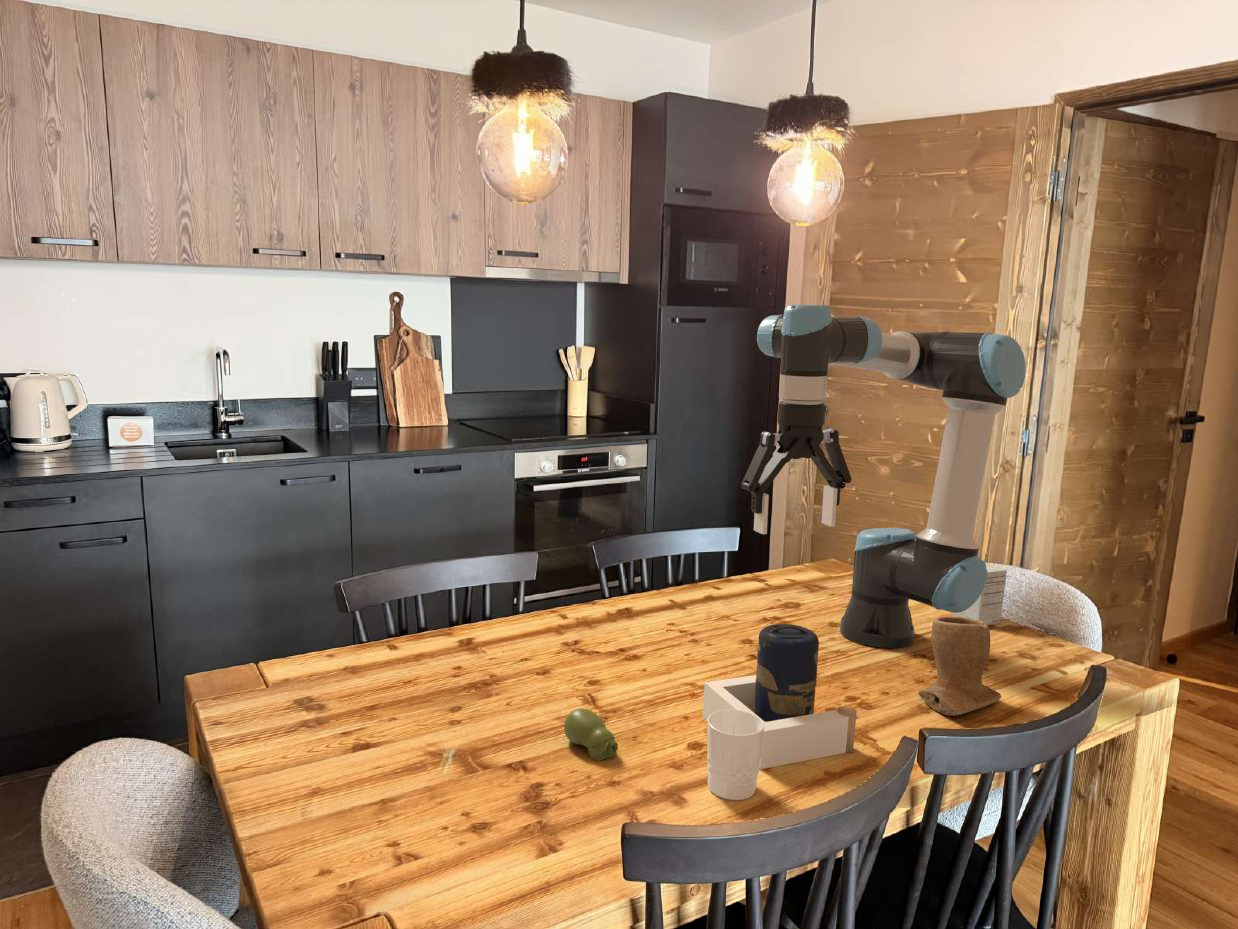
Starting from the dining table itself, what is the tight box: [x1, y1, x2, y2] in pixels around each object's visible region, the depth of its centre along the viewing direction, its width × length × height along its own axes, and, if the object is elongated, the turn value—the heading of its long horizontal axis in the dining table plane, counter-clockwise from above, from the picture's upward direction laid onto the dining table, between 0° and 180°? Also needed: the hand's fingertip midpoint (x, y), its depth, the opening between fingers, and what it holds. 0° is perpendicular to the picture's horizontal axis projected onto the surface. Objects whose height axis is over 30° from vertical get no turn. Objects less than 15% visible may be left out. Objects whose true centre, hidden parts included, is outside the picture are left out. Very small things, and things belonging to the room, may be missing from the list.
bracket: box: [702, 674, 857, 770], centre depth 139 cm, size 17×18×6 cm
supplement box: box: [953, 562, 1008, 626], centre depth 196 cm, size 7×7×13 cm
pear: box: [563, 708, 619, 762], centre depth 132 cm, size 6×5×10 cm
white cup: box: [706, 710, 764, 801], centre depth 122 cm, size 8×8×10 cm
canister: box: [755, 623, 820, 722], centre depth 138 cm, size 10×10×18 cm
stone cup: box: [917, 616, 1002, 717], centre depth 152 cm, size 15×12×15 cm
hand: (794, 528), depth 144 cm, fingers open, 13 cm apart
